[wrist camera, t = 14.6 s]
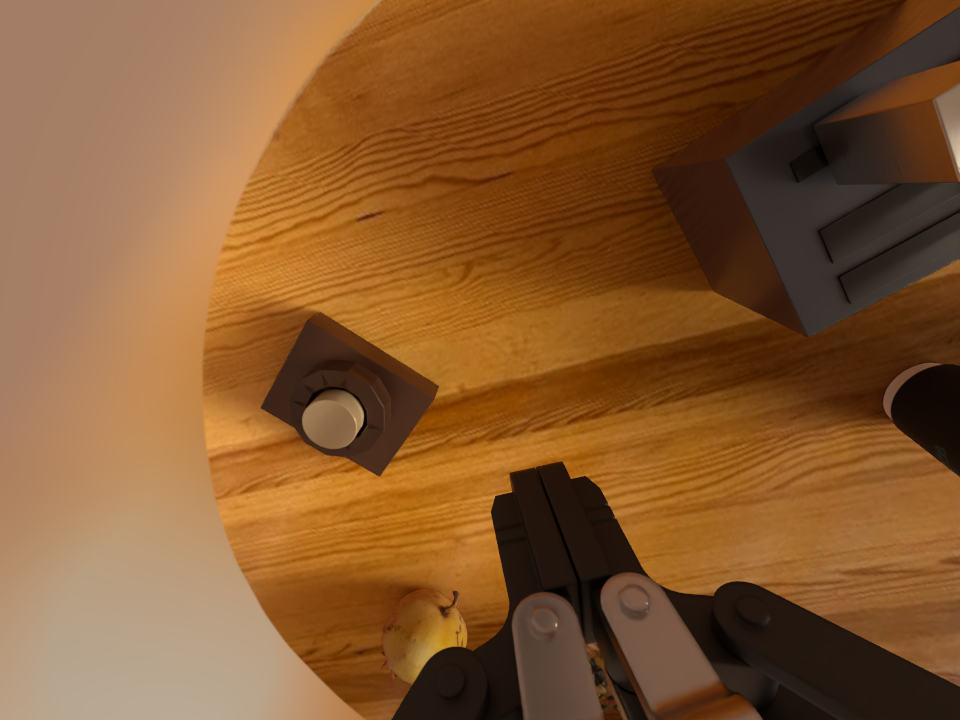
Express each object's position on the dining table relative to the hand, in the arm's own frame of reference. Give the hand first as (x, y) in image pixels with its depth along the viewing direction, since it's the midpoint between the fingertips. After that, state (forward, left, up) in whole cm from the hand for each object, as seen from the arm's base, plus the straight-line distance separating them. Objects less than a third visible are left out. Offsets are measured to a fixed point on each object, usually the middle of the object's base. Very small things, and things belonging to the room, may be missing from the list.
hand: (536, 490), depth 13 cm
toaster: (+8, +17, -20) cm, 27 cm away
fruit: (+9, -27, -20) cm, 35 cm away
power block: (-7, -12, -20) cm, 24 cm away
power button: (-7, -12, -16) cm, 21 cm away
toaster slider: (+5, +15, -9) cm, 18 cm away
